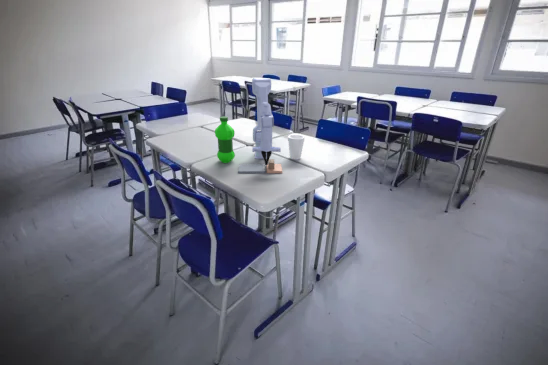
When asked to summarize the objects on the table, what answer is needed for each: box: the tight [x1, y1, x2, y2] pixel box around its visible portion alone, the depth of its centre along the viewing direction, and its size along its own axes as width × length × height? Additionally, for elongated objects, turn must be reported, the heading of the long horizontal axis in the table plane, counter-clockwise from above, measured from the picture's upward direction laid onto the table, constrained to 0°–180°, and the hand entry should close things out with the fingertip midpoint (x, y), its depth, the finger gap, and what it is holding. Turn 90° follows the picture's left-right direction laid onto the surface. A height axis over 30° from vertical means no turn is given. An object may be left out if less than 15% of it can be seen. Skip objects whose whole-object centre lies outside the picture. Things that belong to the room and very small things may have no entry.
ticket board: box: [237, 163, 266, 174], centre depth 150 cm, size 10×14×1 cm
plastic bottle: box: [214, 116, 236, 164], centre depth 155 cm, size 10×10×25 cm
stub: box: [266, 158, 283, 174], centre depth 149 cm, size 10×8×5 cm
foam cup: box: [287, 133, 305, 160], centre depth 164 cm, size 10×9×13 cm
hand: (266, 164), depth 149 cm, fingers closed
